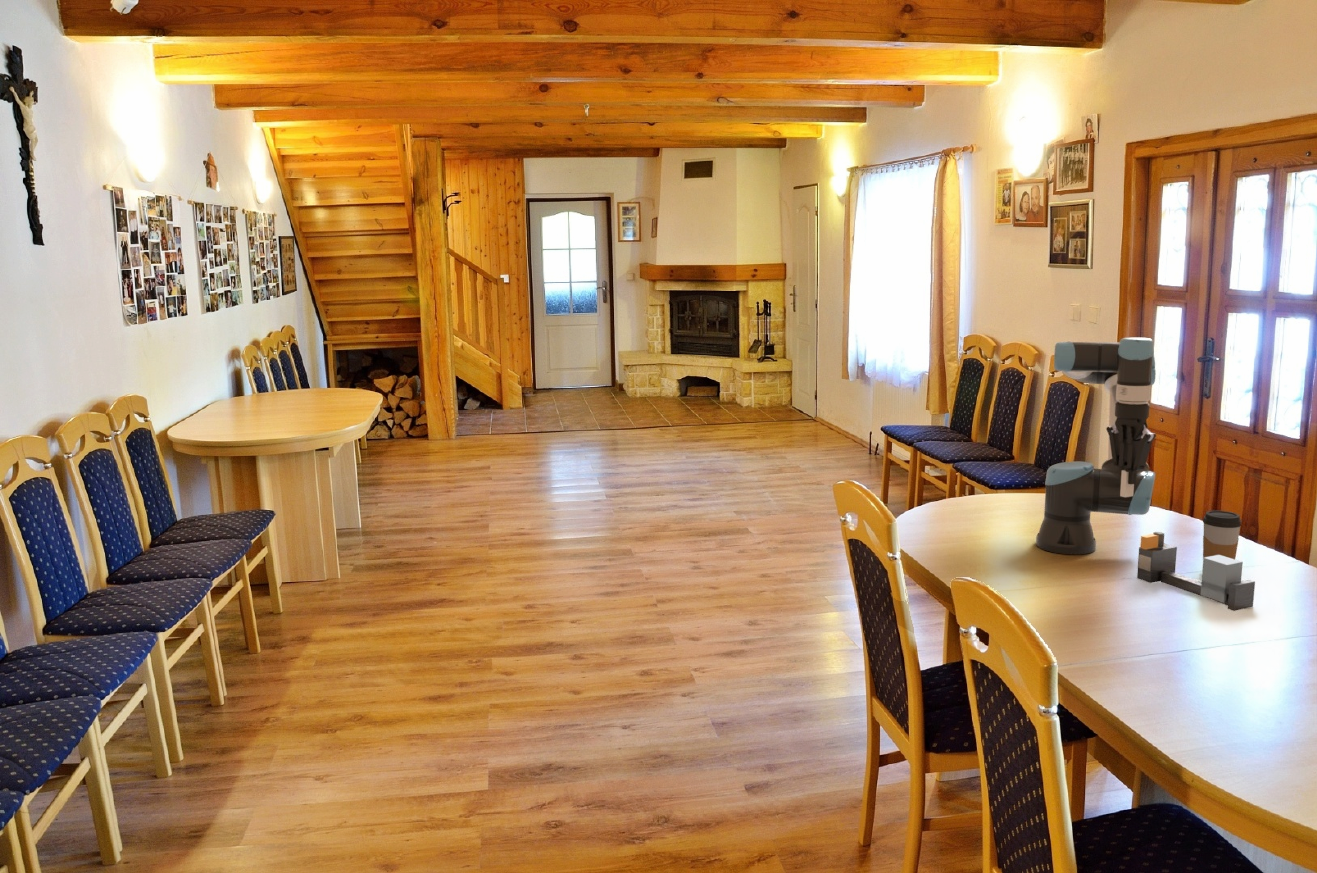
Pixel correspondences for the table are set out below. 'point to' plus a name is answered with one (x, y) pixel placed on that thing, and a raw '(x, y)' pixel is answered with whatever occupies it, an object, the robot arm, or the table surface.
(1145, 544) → the lever
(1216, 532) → the coffee cup
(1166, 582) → the rail
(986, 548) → the table surface
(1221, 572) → the block
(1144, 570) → the end cabinet
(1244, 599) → the square post base
